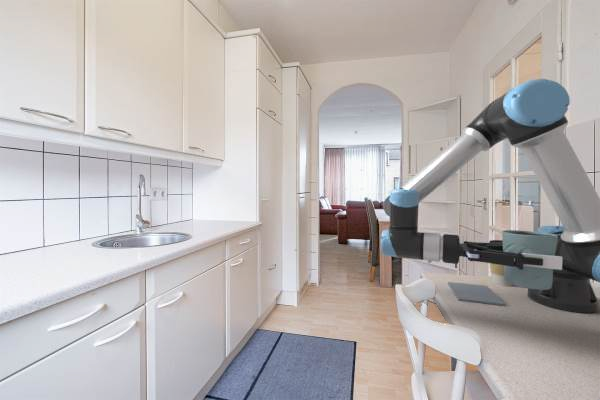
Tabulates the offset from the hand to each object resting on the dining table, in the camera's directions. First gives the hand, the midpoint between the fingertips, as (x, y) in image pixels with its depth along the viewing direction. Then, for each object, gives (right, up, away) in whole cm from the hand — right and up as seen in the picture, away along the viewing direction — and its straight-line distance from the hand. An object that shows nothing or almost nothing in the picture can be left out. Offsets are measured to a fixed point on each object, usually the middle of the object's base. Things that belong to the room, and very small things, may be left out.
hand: (552, 257), depth 62 cm
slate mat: (-1, -17, +26) cm, 31 cm away
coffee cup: (+16, -17, +36) cm, 43 cm away
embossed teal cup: (-4, -7, +2) cm, 8 cm away
